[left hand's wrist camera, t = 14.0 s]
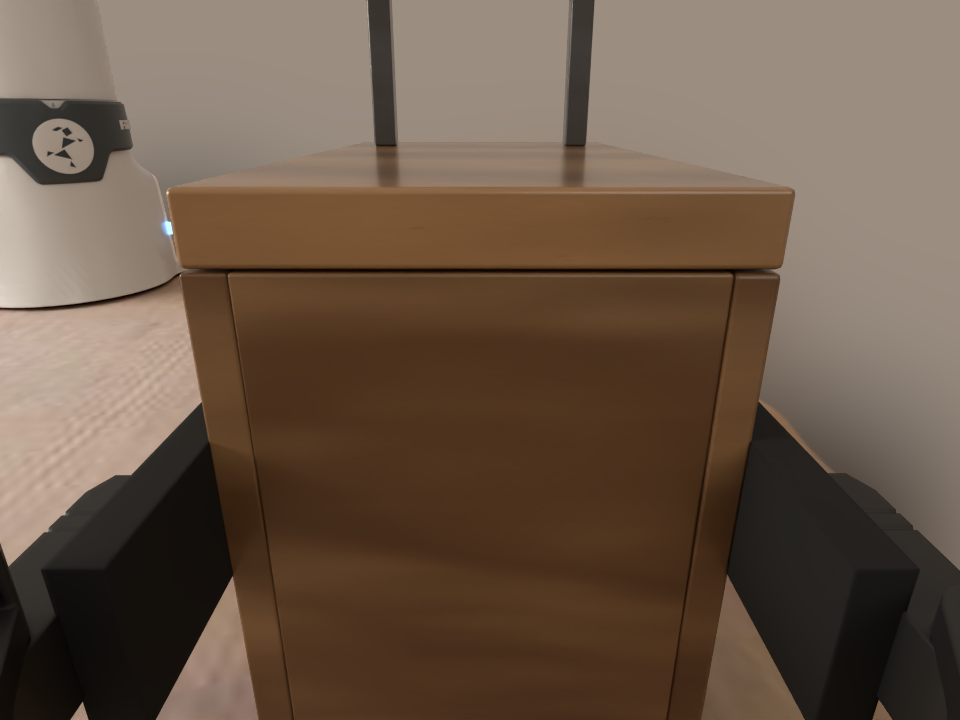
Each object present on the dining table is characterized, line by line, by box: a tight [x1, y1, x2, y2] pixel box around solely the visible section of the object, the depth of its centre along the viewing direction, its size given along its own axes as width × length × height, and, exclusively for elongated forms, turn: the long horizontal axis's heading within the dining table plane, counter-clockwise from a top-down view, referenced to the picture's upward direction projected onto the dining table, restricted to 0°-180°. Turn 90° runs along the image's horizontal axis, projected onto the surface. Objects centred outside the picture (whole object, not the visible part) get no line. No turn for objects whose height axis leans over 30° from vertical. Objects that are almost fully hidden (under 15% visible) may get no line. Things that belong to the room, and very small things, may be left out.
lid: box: [166, 0, 795, 269], centre depth 15 cm, size 16×9×9 cm, turn 0°
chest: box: [180, 269, 780, 720], centre depth 18 cm, size 16×9×11 cm, turn 0°
